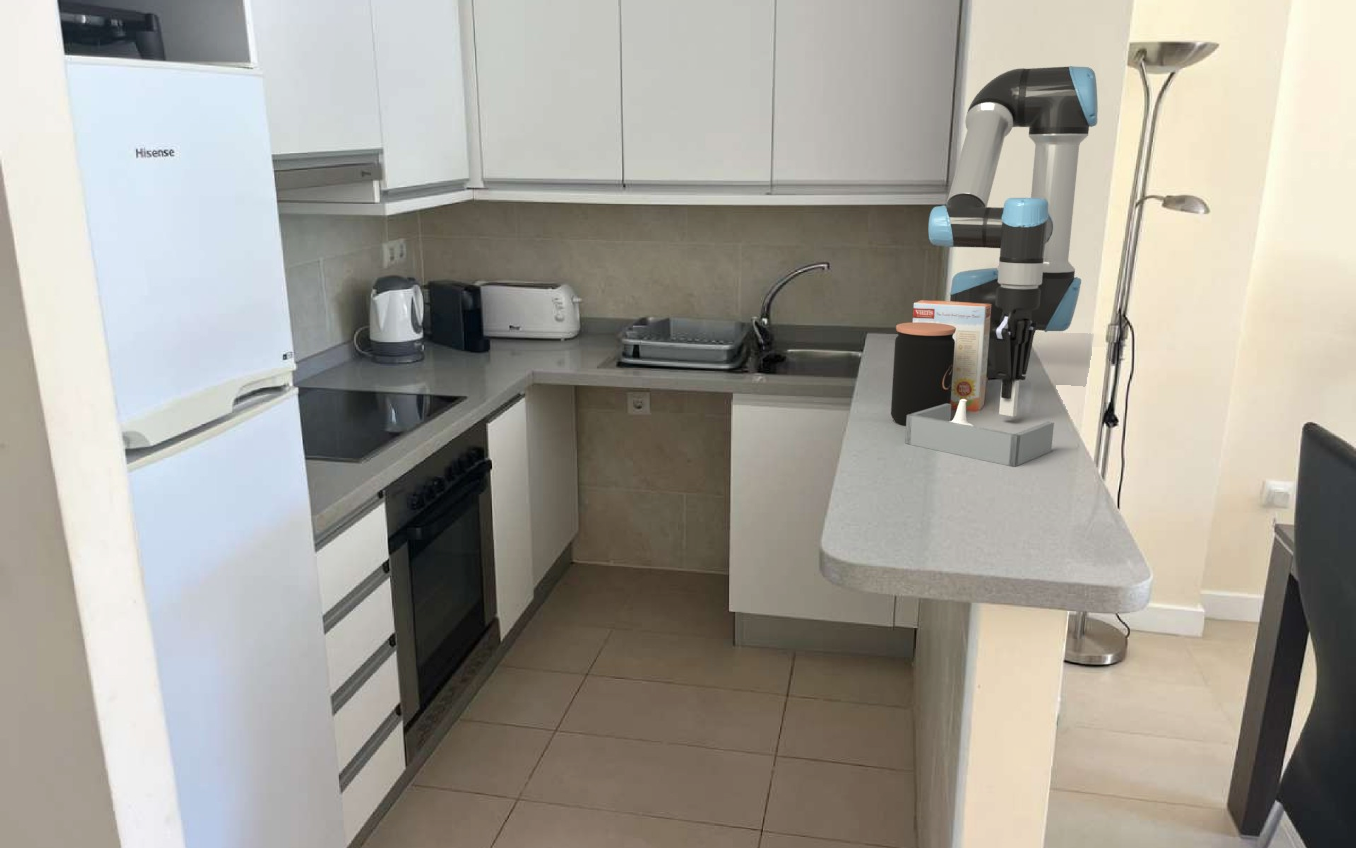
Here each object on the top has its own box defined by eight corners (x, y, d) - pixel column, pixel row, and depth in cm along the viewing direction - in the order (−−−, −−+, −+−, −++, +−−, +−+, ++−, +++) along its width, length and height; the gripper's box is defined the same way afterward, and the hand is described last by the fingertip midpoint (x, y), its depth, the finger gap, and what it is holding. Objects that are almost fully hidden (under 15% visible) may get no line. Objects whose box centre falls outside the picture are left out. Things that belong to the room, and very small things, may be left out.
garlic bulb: (959, 438, 176) (962, 393, 174) (985, 446, 170) (988, 401, 168) (931, 442, 173) (934, 397, 171) (956, 451, 167) (959, 404, 165)
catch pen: (944, 430, 181) (946, 403, 179) (1051, 451, 167) (1054, 422, 166) (905, 443, 172) (906, 415, 170) (1014, 466, 158) (1017, 436, 157)
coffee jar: (950, 430, 181) (958, 331, 176) (890, 427, 183) (896, 329, 178) (947, 417, 191) (954, 323, 186) (890, 414, 193) (895, 321, 188)
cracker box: (984, 408, 198) (993, 302, 193) (977, 414, 193) (986, 306, 188) (914, 400, 205) (921, 298, 200) (906, 406, 200) (913, 301, 195)
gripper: (1016, 282, 186) (1005, 406, 191) (981, 287, 176) (971, 416, 182) (1055, 285, 180) (1043, 412, 186) (1021, 290, 171) (1010, 424, 177)
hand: (1007, 414), depth 184 cm, fingers closed
